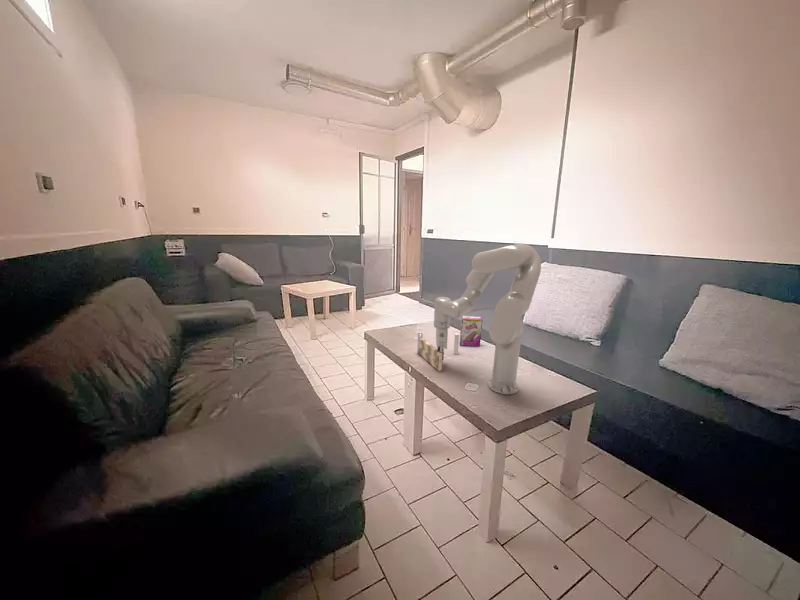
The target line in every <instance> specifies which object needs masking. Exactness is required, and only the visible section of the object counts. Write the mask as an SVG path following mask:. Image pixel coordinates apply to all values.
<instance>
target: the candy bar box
mask: <svg viewBox="0 0 800 600" xmlns="http://www.w3.org/2000/svg"><path fill="white" fill-rule="evenodd" d="M460 318H461V321H460V332H459V346H461V347H481V340H482V330H483V317H482V316H470V315H463V316H461V317H460Z"/></svg>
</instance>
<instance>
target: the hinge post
mask: <svg viewBox="0 0 800 600" xmlns="http://www.w3.org/2000/svg"><path fill="white" fill-rule="evenodd" d="M423 337H424V336H423V333H422V332H419V333H417V350H416V351H417V353H416V354H417V355H419V356H421V355H420V339H423Z"/></svg>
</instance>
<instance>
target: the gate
mask: <svg viewBox="0 0 800 600" xmlns="http://www.w3.org/2000/svg"><path fill="white" fill-rule="evenodd" d="M442 355H443V354H442V353H441V352H440V351H438V350H437V347H435V346H433V345H432V344H431V343H429V342H428V341H427V340H425V339H424V338H422V339H420V355H419V356H421V357H422V358H423V359H425V361H427V362H428V363H429V364H430V365H431V366H432V367H434V368H435V369H436V370H437V371H438V372H441V371H442V370H443V369H442V367H443V360H442Z"/></svg>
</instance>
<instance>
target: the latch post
mask: <svg viewBox="0 0 800 600" xmlns="http://www.w3.org/2000/svg"><path fill="white" fill-rule="evenodd" d="M453 339H454V340H453V341H454V342H453V343H454V344H453V355H459V345H460V332H458V333H456V332H455V333H454V338H453Z"/></svg>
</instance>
